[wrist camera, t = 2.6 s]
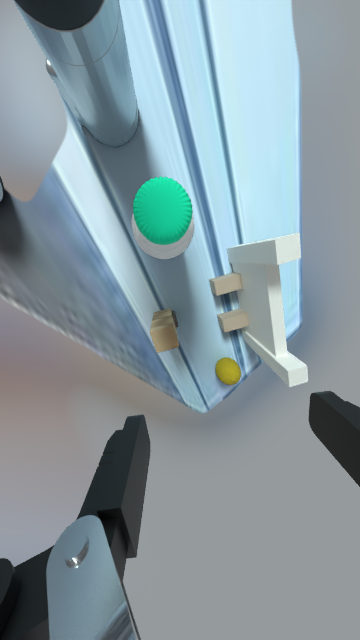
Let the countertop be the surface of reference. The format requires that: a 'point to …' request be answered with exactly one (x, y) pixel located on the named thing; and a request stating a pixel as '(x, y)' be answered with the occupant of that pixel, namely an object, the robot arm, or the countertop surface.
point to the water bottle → (162, 218)
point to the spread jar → (1, 190)
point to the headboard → (262, 302)
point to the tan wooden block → (164, 330)
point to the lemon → (228, 371)
